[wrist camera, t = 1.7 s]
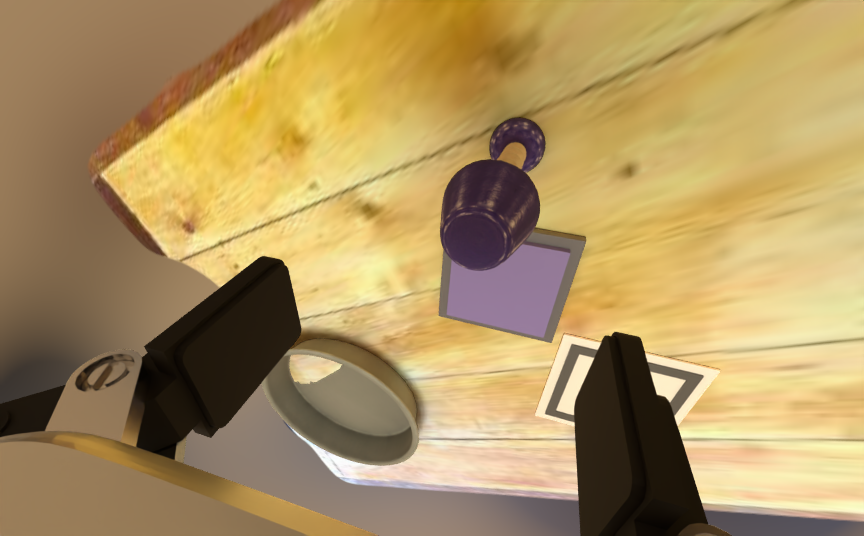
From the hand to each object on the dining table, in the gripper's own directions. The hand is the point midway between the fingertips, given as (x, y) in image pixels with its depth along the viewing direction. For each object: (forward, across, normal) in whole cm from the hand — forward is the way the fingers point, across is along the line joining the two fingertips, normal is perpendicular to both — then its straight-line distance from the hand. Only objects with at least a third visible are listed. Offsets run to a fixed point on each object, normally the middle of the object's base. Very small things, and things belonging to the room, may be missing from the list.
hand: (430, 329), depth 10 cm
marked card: (+21, -16, +25) cm, 36 cm away
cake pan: (+23, +17, +39) cm, 48 cm away
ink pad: (+22, -2, +13) cm, 25 cm away
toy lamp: (+22, -1, 0) cm, 22 cm away
